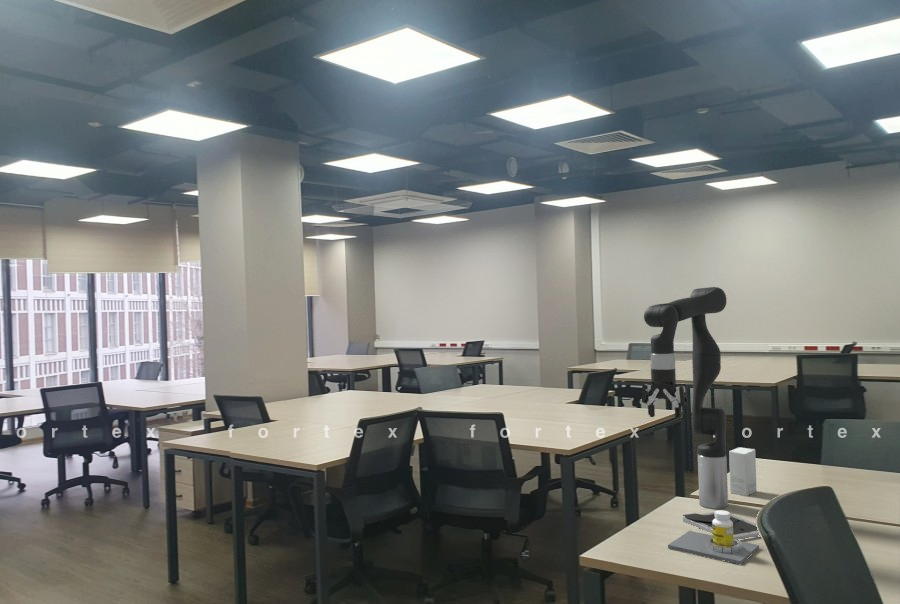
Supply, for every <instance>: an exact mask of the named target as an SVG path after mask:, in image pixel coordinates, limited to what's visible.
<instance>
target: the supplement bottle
mask: <svg viewBox="0 0 900 604" xmlns="http://www.w3.org/2000/svg"><path fill="white" fill-rule="evenodd" d="M714 512H715V519H713V521H712V529H713V544H715V545H719V546H729V547H730V546H734V538H733V522H732V521H731V520H730V514H731V513H730V512H729V511H727V510H721V509H719V510H718V509H717V510H714Z"/></svg>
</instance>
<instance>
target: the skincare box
mask: <svg viewBox="0 0 900 604" xmlns="http://www.w3.org/2000/svg"><path fill="white" fill-rule="evenodd" d="M728 455H729V456H728V458H729V491H730V492H731V493H730V494H733V493H734V494H733V495H738V494H740V495H739V496H743V495H746V496H745V497H748V496H750V495H752V494H755V493H757V465H756V464H757V463H756V461H757V460H756V449H755V448H748V447H747V448H746V447H741V446H740V447H736V448H734V449H732V450H729V453H728ZM751 493H752V494H751ZM749 494H750V495H749ZM747 495H748V496H747Z"/></svg>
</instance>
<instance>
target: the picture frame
mask: <svg viewBox="0 0 900 604" xmlns="http://www.w3.org/2000/svg"><path fill="white" fill-rule="evenodd" d="M682 516H683V517H682V522H683V523H685V524H687V523H688V525H689V524H691V525H690V526H692V525H693V526H692V527H694V526H696V527H698V528H700V529H699V530H701V529H702V530H701V531H703V530H705V531H707V532H710V533H712V534H713V529H712V521H713V519H715V511H713V512H706V513H701V514H700V513H696V512H694V513H687V514H682ZM730 520H731V521H732V522H733V538H734V539H737V540H738V539H745V538H749V537H758V535H759V532H758V530H757V527H756V524H757V523H756V522H752V521H749V520H747V519H744V518H742V517H740V516H737V515H735V514H731V513H730ZM696 527H695V528H696ZM698 528H697V529H698ZM705 531H704V532H705ZM707 532H706V533H707ZM710 533H709V534H710ZM712 534H711V535H712ZM759 536H760V535H759Z"/></svg>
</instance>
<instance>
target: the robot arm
mask: <svg viewBox="0 0 900 604" xmlns="http://www.w3.org/2000/svg"><path fill="white" fill-rule="evenodd" d="M726 306H727V295H726V293H725V291H724V290H723V289H722V288H721V287H719V286H718V287H717V286H712V287H711V286H710V287H709V286H708V287H701V288H695V289H693V290H692V291H691V293H690V296H689V297H685V298H680V299H675V300H672V301H670V302H667V303H666V302H665V303H659V304H654V305H651V306H648V307H647V308H646V309H645V311H644V314H643V320H644V322H645V324H646V325H648V326H649V327H651V328H662V330H661V332H660V333H659V334H658V333H657V334H655V335H652V336H651V338H650V380H651V384H648V383H645V384H642V385H641V402H642V403H643V404H646V405H647V411H648V412H647V414H648V416H649V417H650V418H654V417H655V416H656V414H655V412H656V410H655V403H656V402H657V400H662V399H663V400H669V401H670V402H671V403H672V404H673V405H674V419H675V420H679V419H680V418H682V414H683V412H682V407H684V406H687V405H688V396H687V386H685V385H683V386H677V385H676V381H677V380H676V379H677V378H676V375H677V374H676V358H675V351H674V350H675V349H674V348H675V347H674V346H675V345H674V343H675V342H674V340H675V335H676V330H677V327H678V323H679V322H681V321H682V322H683V321H684V320H688V319H690V320H691V331H692V353H691V354H692V356H691V357H692V362H691V363H692V385H693V387H692V388H693V389H692V390H693V391H692V404H691V405H692V407H691V409H692V411H691V428H692V431H693V433H694V434H696V435H700V436H701V435H702V436H703V435H704V436H715V438H714V439H713V440H712V441H708V442H706V443H702V444H700V445H697V472H698V476H697V477H698V497H699V498H698V501H699V502H698V503H699V505H700V506H701V507H704V508H708V509H717V510H718V509H719V510H720V509H725V508H728V507H729V493H728V492H729V491H728V490H729V489H728V467H727V466H728V465H727V464H728V463H727V461H728V460H727V441H726V438H727V415H726V412H725V410H724V409H723V408H715V407H704V406H703V405H704V400H705V397H706V395H707V394H708V391H709V389H710V388H711V387H712V385H713V384H714V382H715V381H716V379H717V378H718V376H719V375H720V372H721V369H722V367H721V366H722V365H721V363H722V362H721V357H722V356H721V349H720V347H719V345H718V344H717V342H716V340H715V339H714V337H713V336H712V335H711V333H710V331H709V329H708V326H707V321H706V315H707V314H717V313H718V314H719V313H720V312H722V311H724V309H725V308H726ZM650 391H651V392H652V395H651V396H650V395H649V394H650V393H649V392H650ZM676 392H677V393H678V394H679V397H678V395H677V394H676Z"/></svg>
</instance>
